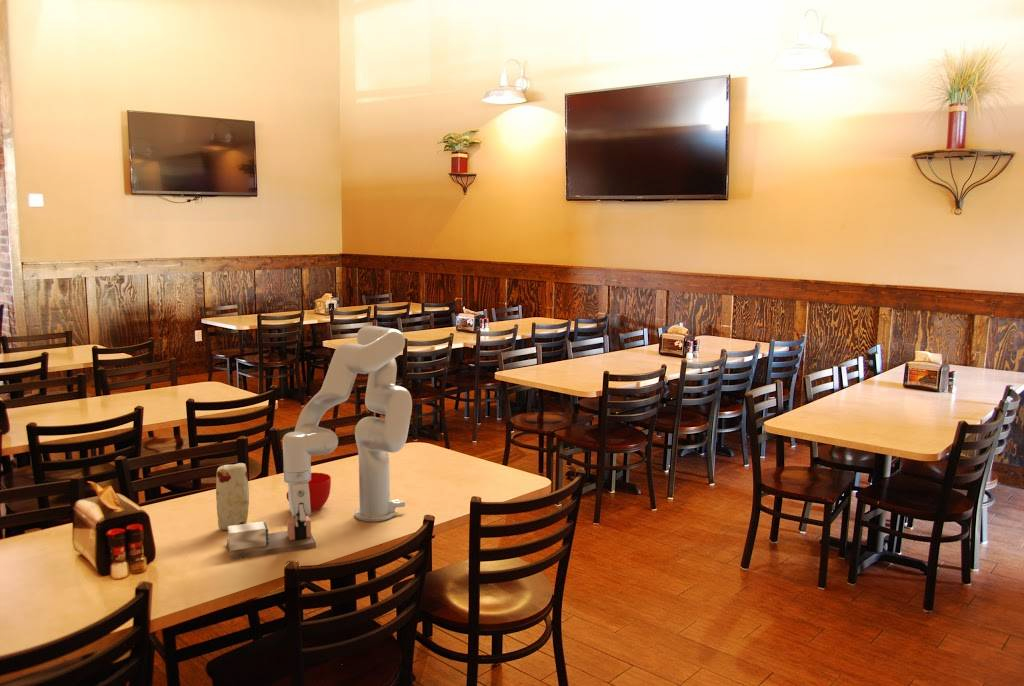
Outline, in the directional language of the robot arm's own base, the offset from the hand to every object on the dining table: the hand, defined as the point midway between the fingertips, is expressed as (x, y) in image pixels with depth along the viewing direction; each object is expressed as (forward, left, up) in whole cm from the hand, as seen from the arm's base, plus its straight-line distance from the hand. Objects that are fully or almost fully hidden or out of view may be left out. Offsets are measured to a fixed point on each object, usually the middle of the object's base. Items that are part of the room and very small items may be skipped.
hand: (299, 535), depth 235 cm
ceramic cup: (-7, -26, -2) cm, 27 cm away
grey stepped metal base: (+9, 0, -2) cm, 9 cm away
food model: (+16, -19, -2) cm, 25 cm away
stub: (0, 0, 0) cm, 0 cm away
